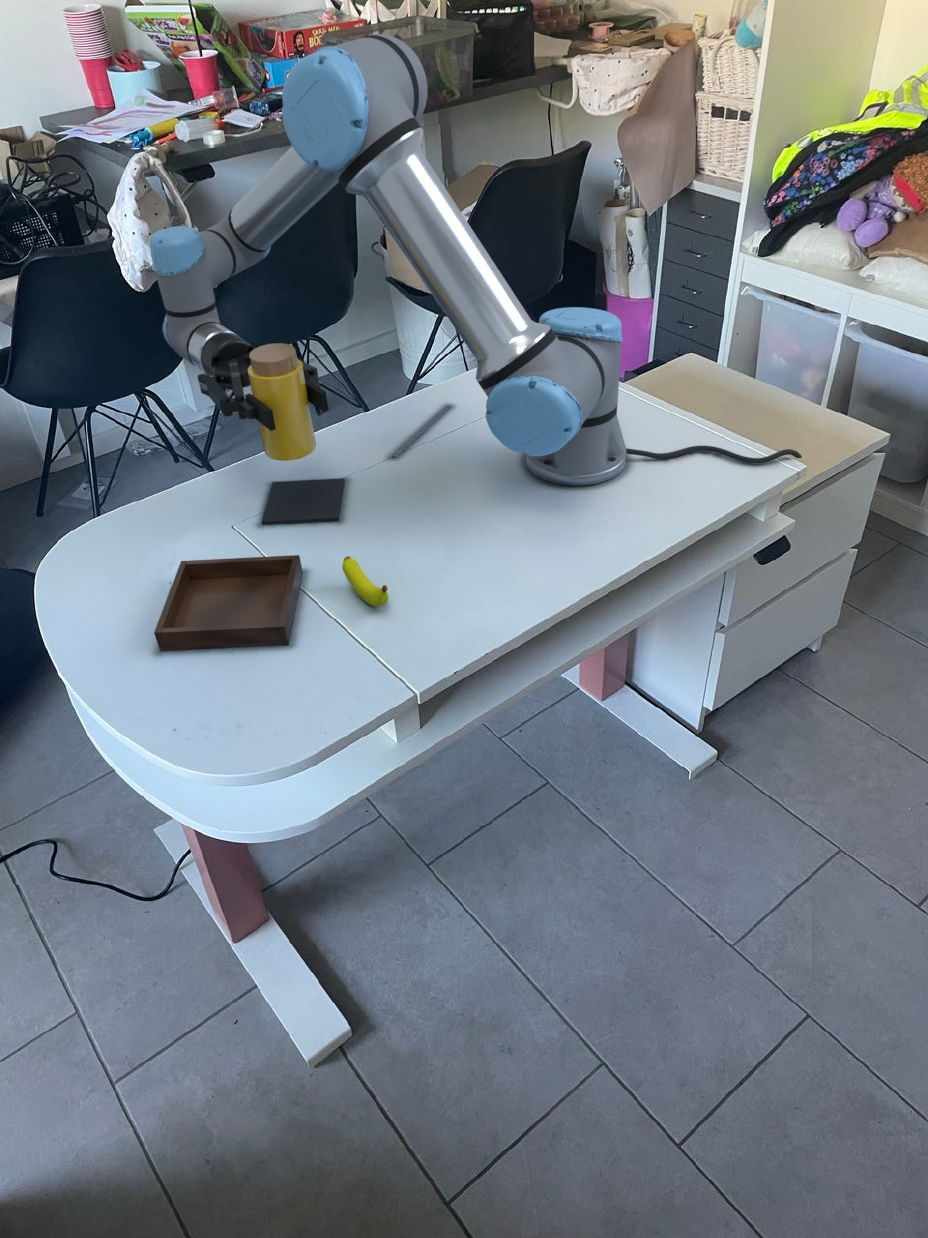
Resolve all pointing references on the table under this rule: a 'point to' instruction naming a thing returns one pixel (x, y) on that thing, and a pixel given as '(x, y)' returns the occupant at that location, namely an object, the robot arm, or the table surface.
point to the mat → (304, 501)
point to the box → (231, 603)
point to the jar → (282, 401)
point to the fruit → (364, 584)
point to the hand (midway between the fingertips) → (298, 411)
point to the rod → (421, 431)
